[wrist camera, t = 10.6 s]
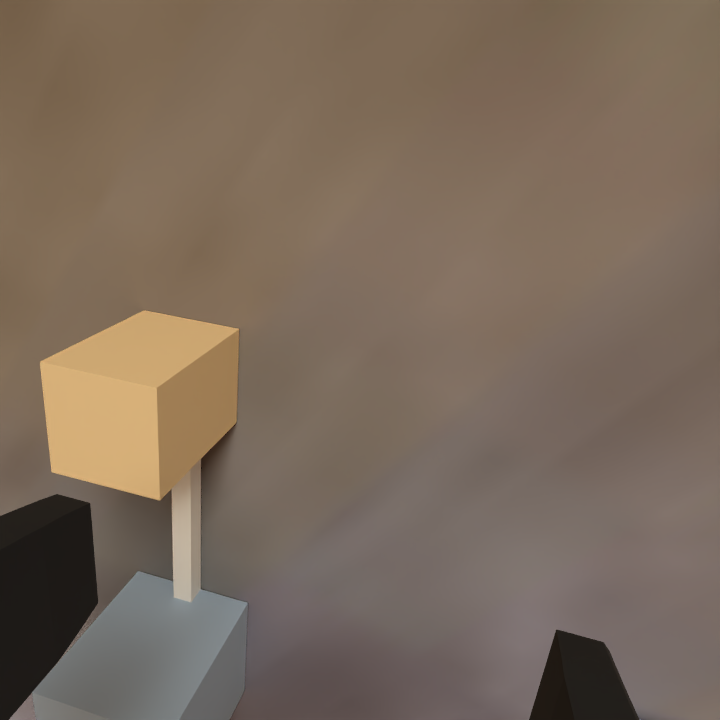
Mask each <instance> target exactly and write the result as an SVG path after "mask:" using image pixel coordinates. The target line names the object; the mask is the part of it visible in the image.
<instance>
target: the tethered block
mask: <svg viewBox="0 0 720 720" xmlns="http://www.w3.org/2000/svg"><path fill="white" fill-rule="evenodd" d="M238 355H239V329H237V328H232V327H227V326H221V325H216V324H211V323H206V322H201V321H196V320H191V319H186V318H181V317H176V316H170V315H165V314H160V313H155V312H150V311H145V310H144V311H142V312H140V313H138V314H136V315H134V316H132V317H130V318H128V319H126V320H124V321H122V322H120V323H118V324H116V325H114V326H112V327H109V328H107V329H105V330H103V331H101V332H99V333H97V334H95V335H93V336H91V337H89V338H87V339H85V340H83V341H81V342H79V343H77V344H75V345H73V346H71V347H69V348H67V349H65V350H63V351H61V352H59V353H57V354H55V355H53V356H51V357H49V358H47V359H45V360H43V361H41V362H40V367H41V377H42V386H43V395H44V405H45V414H46V423H47V432H48V442H49V451H50V460H51V470H52V472H53V473H57V474H61V475H65V476H68V477H72V478H76V479H80V480H84V481H87V482H91V483H95V484H99V485H103V486H106V487H110V488H114V489H118V490H122V491H125V492H129V493H133V494H137V495H141V496H144V497H148V498H152V499H156V500H161V499H162V498H163V497H164V496H165V495H166V494H167V493H168V492H169V491H170V490H171V489H172V537H173V581H171V580H167V579H164V578H160V577H157V576H153V575H150V574H147V573H143V572H140V571H138V572H137V573H136V574H135V575H134V576H133V578H132V579H131V580H130V581H129V582H128V583H127V584H126V586H125V587H124V588H123V589H122V590H121V591H120V592H119V594H118V595H117V596H116V597H115V598H114V599H113V600H112V602H111V603H110V604H109V605H108V606H107V607H106V608H105V609H104V611H103V612H102V613H101V614H100V615H99V616H98V617H97V619H96V620H95V621H94V622H93V623H92V624H91V625H90V627H89V628H88V629H87V630H86V631H85V632H84V633H83V635H82V636H81V637H80V638H79V639H78V640H77V641H76V643H75V644H74V645H73V646H72V647H71V648H70V649H69V651H68V652H67V653H66V654H65V655H64V656H63V657H62V659H61V660H60V661H59V662H58V663H57V664H56V665H55V667H54V668H53V669H52V670H51V671H50V672H49V673H48V675H47V676H46V677H45V678H44V679H43V680H42V681H41V683H40V684H39V685H38V686H37V687H36V688H35V690H34V691H33V692H32V696H33V703H34V710H35V717H36V720H230V718H231V716H232V714H233V712H234V710H235V708H236V706H237V704H238V702H239V700H240V698H241V696H242V694H243V692H244V690H245V666H246V642H247V618H248V603H246V602H243V601H240V600H236V599H233V598H229V597H226V596H222V595H219V594H215V593H212V592H209V591H205V590H202V589H201V458H202V457H203V456H204V455H205V454H206V453H207V452H208V451H209V450H210V449H211V448H212V447H213V446H214V445H215V444H216V443H217V442H218V441H219V440H220V439H221V438H222V437H223V436H224V435H225V434H226V433H227V432H228V431H229V430H230V429H231V428H232V427H233V426H234V425H235V424H236V422H237V391H238Z"/></svg>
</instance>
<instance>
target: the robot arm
mask: <svg viewBox="0 0 720 720" xmlns="http://www.w3.org/2000/svg"><path fill="white" fill-rule="evenodd" d="M97 603H98V595H97V583H96V570H95V558H94V546H93V533H92V521H91V509H90V503H88V502H84V501H80V500H77V499H73V498H69V497H66V496H62V495H58V494H56V495H53V496H50V497H48V498H45V499H42V500H39V501H37V502H34V503H32V504H29V505H26V506H24V507H21V508H19V509H17V510H14V511H12V512H9V513H7V514H4V515H2V516H0V720H9V719H10V717H11V716H12V715H13V714H14V713H15V712H16V710H17V709H18V708H19V707H20V706H21V705H22V703H23V702H24V701H25V700H26V699H27V698H28V696H29V695H30V694H31V693H32V692H33V691H34V690H35V688H36V687H37V686H38V685H39V684H40V683H41V681H42V680H43V679H44V678H45V677H46V675H47V674H48V673H49V672H50V671H51V669H52V668H53V667H54V666H55V665H56V663H57V662H58V661H59V659H60V658H61V657H62V655H63V654H64V652H65V651H66V650H67V648H68V647H69V645H70V644H71V642H72V641H73V640H74V638H75V637H76V635H77V634H78V632H79V631H80V629H81V628H82V626H83V625H84V623H85V622H86V620H87V619H88V617H89V616H90V614H91V613H92V611H93V610H94V608H95V607H96V605H97ZM529 720H640V719H639V718H638V716H637V713H636V711H635V709H634V707H633V705H632V702H631V700H630V698H629V696H628V693H627V691H626V689H625V687H624V684H623V682H622V680H621V677H620V675H619V673H618V670H617V668H616V666H615V663H614V661H613V658H612V656H611V654H610V651H609V650H608V648H607V647H606V645H605V644H604V642H601V641H597V640H593V639H590V638H586V637H582V636H578V635H575V634H571V633H567V632H564V631H560V630H556V633H555V636H554V639H553V643H552V646H551V649H550V652H549V656H548V659H547V662H546V666H545V669H544V672H543V676H542V679H541V682H540V686H539V689H538V692H537V696H536V699H535V702H534V706H533V709H532V712H531V716H530V719H529Z"/></svg>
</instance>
